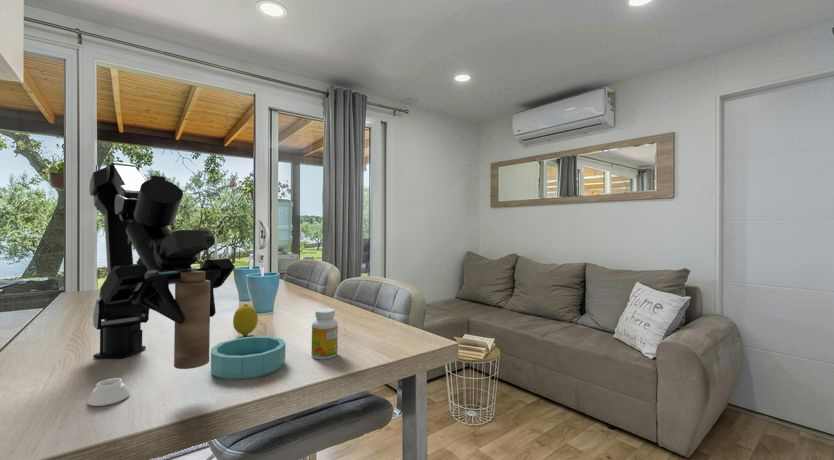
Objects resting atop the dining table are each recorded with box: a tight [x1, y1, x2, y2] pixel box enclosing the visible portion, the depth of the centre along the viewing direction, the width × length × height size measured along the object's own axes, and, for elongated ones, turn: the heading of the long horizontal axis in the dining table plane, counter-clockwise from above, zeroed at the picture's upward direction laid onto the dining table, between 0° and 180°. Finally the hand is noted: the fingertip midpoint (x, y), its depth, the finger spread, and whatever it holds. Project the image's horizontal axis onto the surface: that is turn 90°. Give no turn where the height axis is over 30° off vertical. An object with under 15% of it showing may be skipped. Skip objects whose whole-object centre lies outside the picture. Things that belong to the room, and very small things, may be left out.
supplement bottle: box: [311, 307, 339, 360], centre depth 80 cm, size 5×5×10 cm
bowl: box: [210, 335, 286, 381], centre depth 73 cm, size 13×13×4 cm
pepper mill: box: [173, 271, 211, 370], centre depth 60 cm, size 5×5×14 cm
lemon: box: [232, 303, 258, 337], centre depth 93 cm, size 6×6×8 cm
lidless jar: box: [87, 377, 131, 407], centre depth 59 cm, size 5×3×5 cm
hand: (198, 318), depth 59 cm, fingers closed on pepper mill, 5 cm apart
